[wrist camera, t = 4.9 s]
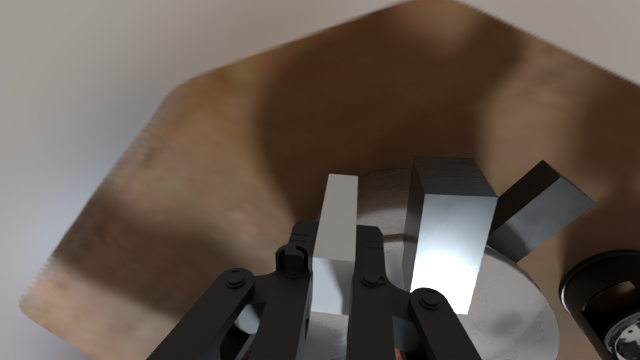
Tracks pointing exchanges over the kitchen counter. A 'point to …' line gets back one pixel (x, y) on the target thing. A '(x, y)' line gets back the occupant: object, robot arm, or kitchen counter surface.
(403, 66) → the kitchen counter surface
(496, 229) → the pressure cooker pot
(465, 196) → the lid
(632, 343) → the french press
